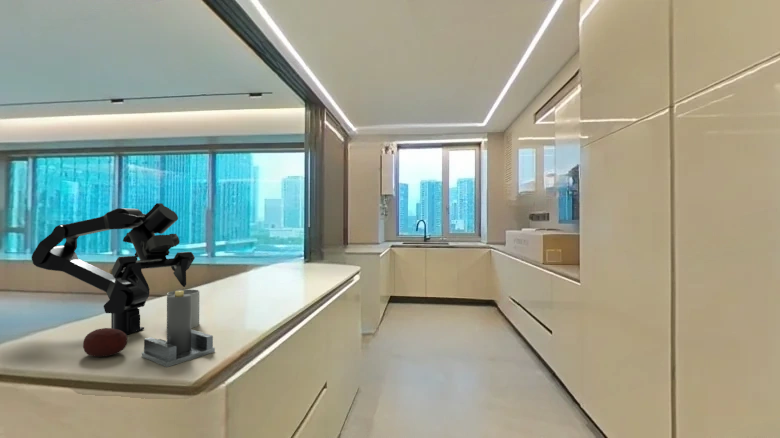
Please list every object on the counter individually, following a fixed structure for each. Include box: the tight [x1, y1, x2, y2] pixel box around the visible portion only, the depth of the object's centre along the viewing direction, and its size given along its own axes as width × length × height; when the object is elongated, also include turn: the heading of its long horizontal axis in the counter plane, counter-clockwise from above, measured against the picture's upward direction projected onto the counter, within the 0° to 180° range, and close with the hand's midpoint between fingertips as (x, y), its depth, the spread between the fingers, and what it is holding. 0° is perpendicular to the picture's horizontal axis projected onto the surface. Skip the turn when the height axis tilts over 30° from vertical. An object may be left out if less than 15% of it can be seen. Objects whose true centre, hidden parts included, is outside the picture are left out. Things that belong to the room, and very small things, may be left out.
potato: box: [82, 327, 128, 358], centre depth 87 cm, size 7×10×6 cm
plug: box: [157, 290, 192, 353], centre depth 89 cm, size 12×5×14 cm, turn 58°
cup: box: [166, 289, 200, 329], centre depth 111 cm, size 8×8×10 cm
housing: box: [141, 329, 216, 368], centre depth 88 cm, size 11×11×4 cm
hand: (167, 288), depth 97 cm, fingers open, 9 cm apart
